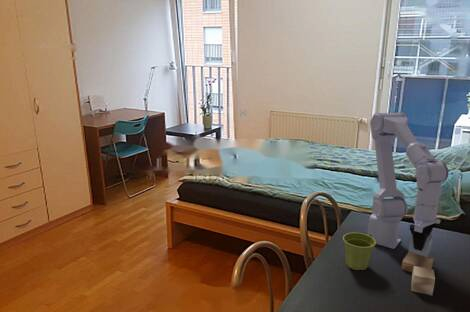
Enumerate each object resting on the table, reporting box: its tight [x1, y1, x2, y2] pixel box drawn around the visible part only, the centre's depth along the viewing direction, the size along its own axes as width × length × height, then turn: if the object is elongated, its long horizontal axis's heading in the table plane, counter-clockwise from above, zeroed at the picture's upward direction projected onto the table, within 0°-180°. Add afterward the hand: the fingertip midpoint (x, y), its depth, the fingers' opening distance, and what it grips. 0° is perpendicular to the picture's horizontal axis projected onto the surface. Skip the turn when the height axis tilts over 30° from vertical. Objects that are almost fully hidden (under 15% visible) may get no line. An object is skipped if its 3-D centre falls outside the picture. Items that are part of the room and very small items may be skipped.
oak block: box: [401, 251, 434, 274], centre depth 113 cm, size 7×7×3 cm
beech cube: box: [411, 266, 436, 296], centre depth 103 cm, size 5×5×5 cm
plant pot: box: [342, 232, 377, 271], centre depth 113 cm, size 9×9×9 cm
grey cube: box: [408, 233, 434, 258], centre depth 111 cm, size 5×5×5 cm
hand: (420, 245), depth 111 cm, fingers closed on grey cube, 5 cm apart
